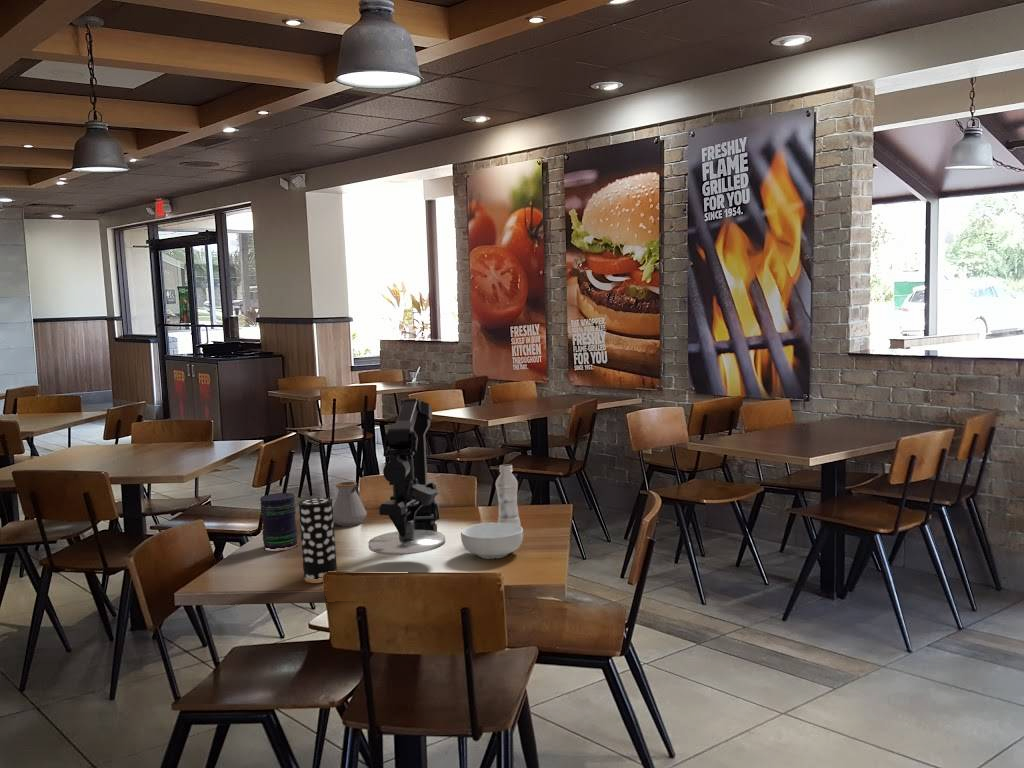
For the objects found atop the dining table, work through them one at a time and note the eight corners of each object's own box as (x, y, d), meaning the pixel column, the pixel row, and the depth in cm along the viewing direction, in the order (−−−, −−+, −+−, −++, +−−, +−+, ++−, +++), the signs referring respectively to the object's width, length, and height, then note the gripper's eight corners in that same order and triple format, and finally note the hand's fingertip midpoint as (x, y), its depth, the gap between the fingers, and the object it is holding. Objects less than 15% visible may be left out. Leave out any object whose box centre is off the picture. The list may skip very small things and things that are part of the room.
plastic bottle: (518, 535, 265) (515, 467, 263) (495, 535, 266) (492, 467, 265) (522, 529, 271) (519, 463, 269) (500, 529, 273) (497, 463, 271)
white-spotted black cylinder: (305, 585, 227) (299, 506, 225) (303, 576, 235) (297, 499, 233) (339, 581, 229) (333, 502, 228) (335, 572, 237) (330, 496, 236)
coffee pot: (327, 522, 294) (324, 476, 292) (362, 517, 298) (359, 472, 297) (342, 536, 274) (338, 487, 273) (379, 531, 279) (376, 482, 277)
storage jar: (269, 553, 259) (265, 501, 257) (259, 546, 267) (255, 496, 266) (303, 547, 264) (299, 496, 263) (292, 540, 272) (288, 491, 271)
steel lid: (355, 553, 232) (353, 529, 232) (387, 533, 252) (385, 511, 251) (429, 555, 227) (427, 531, 226) (455, 535, 246) (454, 512, 245)
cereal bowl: (504, 566, 235) (503, 539, 234) (450, 560, 243) (448, 534, 242) (535, 549, 249) (534, 524, 249) (482, 544, 258) (481, 519, 257)
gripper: (416, 483, 226) (420, 545, 228) (445, 469, 244) (448, 526, 245) (376, 482, 230) (379, 543, 231) (407, 468, 247) (410, 525, 249)
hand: (406, 534), depth 239 cm, fingers closed on steel lid, 4 cm apart
